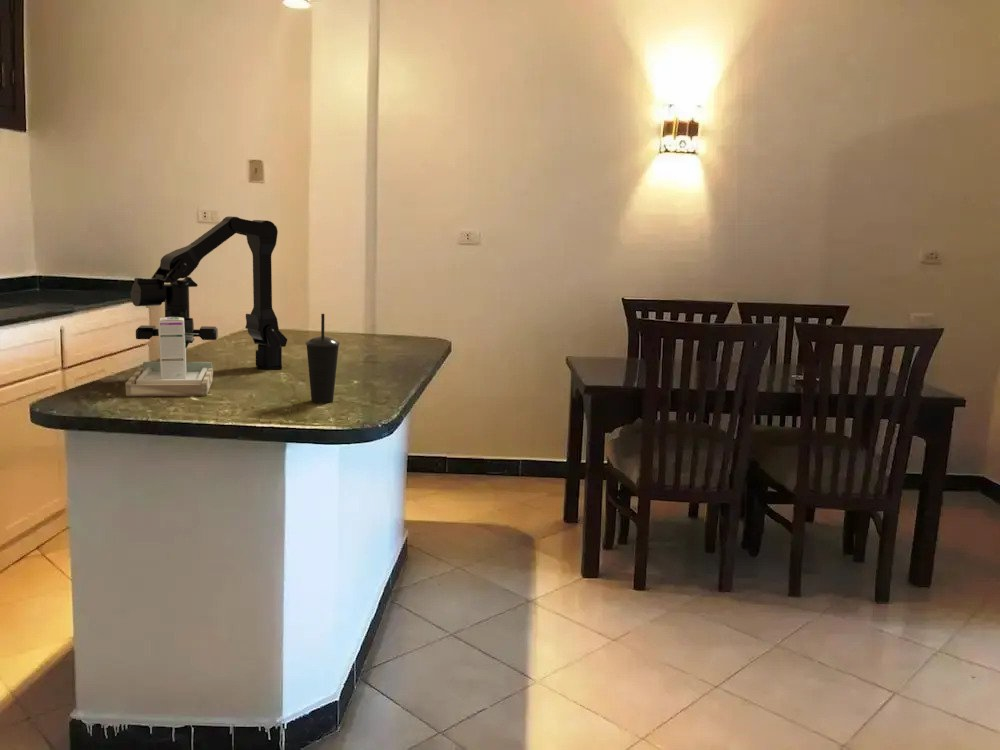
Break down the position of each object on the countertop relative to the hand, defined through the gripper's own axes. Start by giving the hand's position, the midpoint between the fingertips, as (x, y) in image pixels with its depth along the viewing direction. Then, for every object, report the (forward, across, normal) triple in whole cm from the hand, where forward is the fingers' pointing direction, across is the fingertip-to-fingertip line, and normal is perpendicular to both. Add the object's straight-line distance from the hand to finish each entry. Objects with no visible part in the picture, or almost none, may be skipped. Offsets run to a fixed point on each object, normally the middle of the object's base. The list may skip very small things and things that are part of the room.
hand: (178, 366), depth 207 cm
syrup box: (+1, 0, -12) cm, 12 cm away
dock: (+2, 0, -14) cm, 14 cm away
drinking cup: (+3, +34, -30) cm, 46 cm away
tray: (+2, 0, -10) cm, 11 cm away
